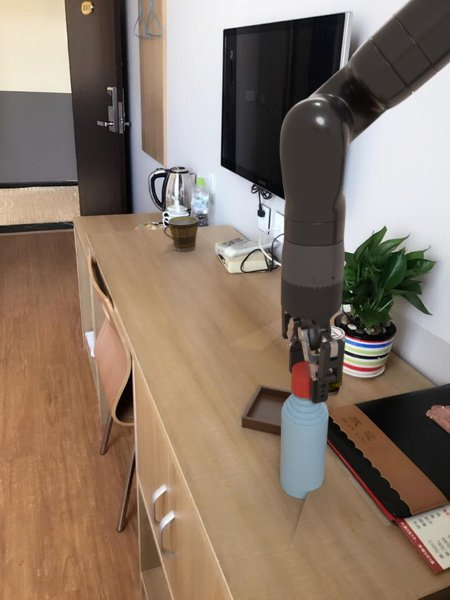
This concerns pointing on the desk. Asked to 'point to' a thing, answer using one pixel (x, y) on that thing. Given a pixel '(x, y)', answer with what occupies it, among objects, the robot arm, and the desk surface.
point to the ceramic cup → (183, 232)
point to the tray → (266, 410)
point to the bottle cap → (301, 380)
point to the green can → (336, 335)
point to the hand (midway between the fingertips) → (307, 385)
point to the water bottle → (302, 445)
